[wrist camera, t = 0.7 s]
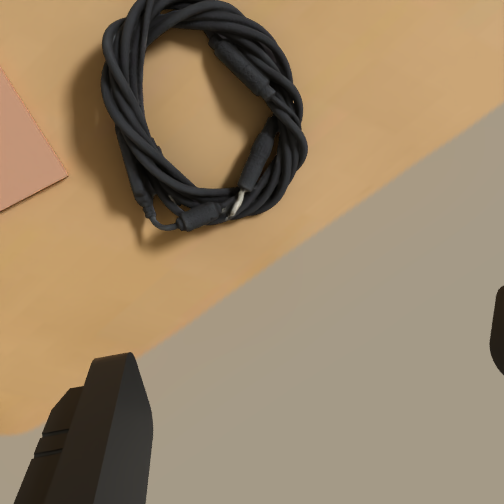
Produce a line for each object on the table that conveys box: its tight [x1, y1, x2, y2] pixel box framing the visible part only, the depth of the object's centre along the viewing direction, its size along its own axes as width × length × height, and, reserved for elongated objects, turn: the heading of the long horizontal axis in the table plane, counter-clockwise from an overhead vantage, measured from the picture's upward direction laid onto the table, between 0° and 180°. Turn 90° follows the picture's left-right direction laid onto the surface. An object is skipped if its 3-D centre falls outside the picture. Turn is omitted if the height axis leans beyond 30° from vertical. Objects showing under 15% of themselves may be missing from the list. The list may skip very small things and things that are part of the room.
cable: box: [101, 0, 308, 232], centre depth 31 cm, size 17×14×4 cm
